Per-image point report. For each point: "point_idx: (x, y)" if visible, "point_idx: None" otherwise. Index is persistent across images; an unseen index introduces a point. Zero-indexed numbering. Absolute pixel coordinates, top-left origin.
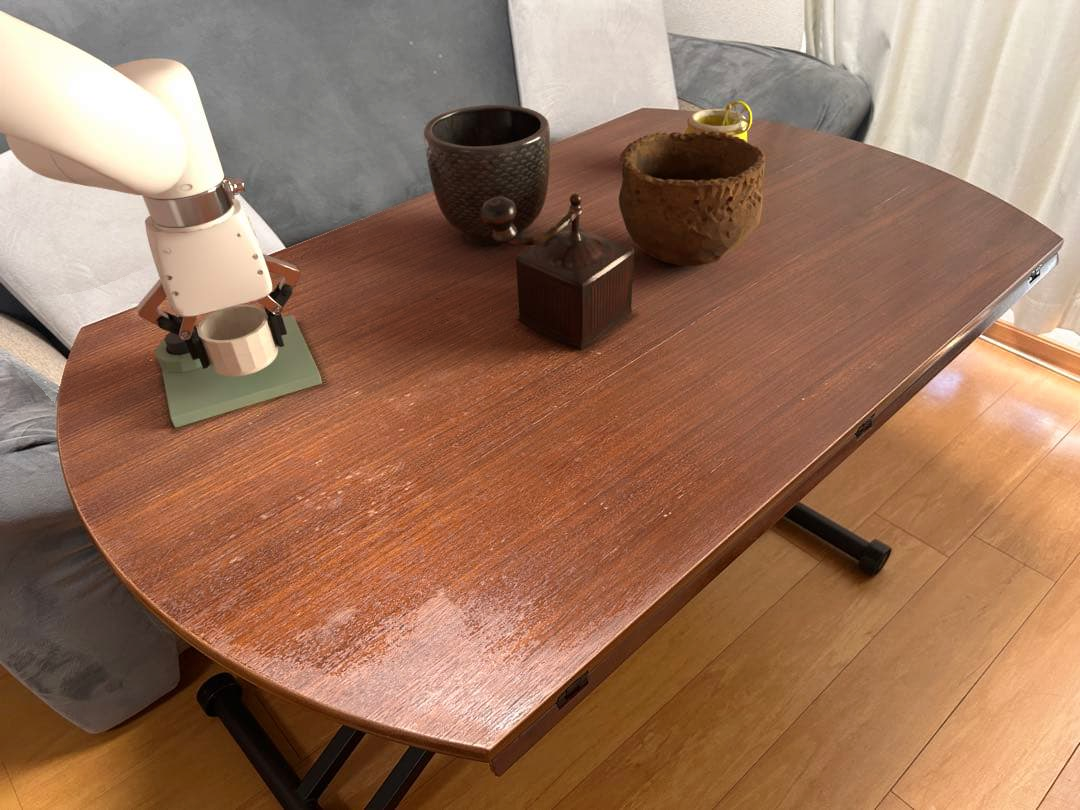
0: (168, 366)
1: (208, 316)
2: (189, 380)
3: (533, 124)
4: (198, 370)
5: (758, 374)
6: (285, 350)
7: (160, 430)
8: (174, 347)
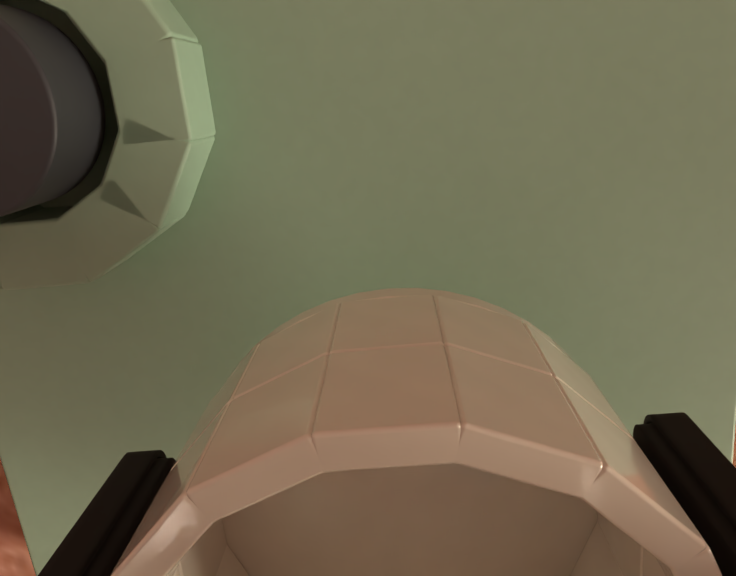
0: None
1: (182, 532)
2: (90, 354)
3: None
4: (129, 282)
5: None
6: (618, 284)
7: (10, 541)
8: None
